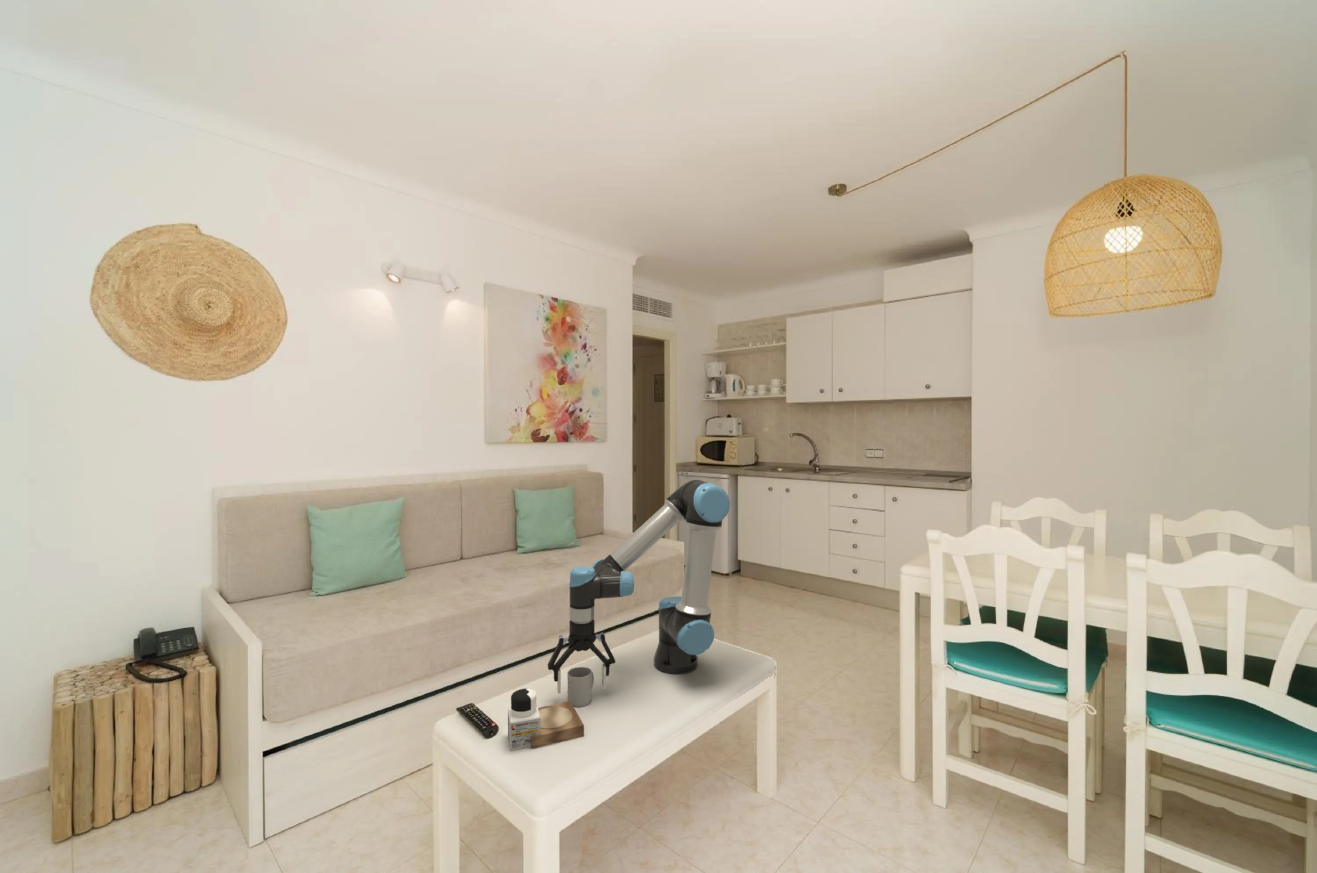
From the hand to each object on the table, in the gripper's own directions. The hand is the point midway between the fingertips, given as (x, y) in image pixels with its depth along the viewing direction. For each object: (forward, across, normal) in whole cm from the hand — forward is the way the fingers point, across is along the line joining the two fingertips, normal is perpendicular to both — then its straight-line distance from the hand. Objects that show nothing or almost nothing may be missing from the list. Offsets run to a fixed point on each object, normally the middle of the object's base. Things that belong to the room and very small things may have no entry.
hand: (581, 688), depth 169 cm
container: (+4, +17, +18) cm, 25 cm away
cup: (+4, 0, 0) cm, 4 cm away
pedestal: (+3, +10, +14) cm, 17 cm away
